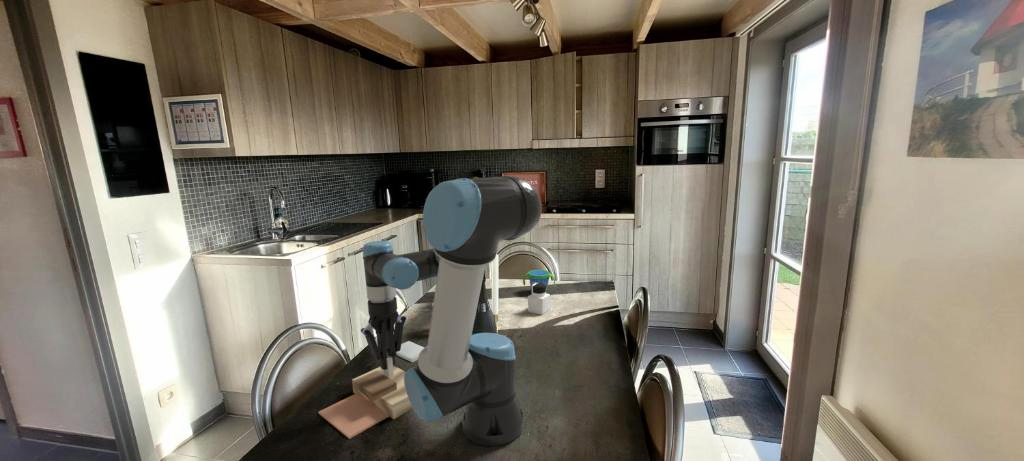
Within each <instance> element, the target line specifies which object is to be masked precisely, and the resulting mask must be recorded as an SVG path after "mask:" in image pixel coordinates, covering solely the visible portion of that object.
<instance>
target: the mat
mask: <svg viewBox="0 0 1024 461" xmlns="http://www.w3.org/2000/svg"><path fill="white" fill-rule="evenodd" d="M317 414H319V416H321V417H322V418H323V419H324V420H326V421H327V422H328V423H329V424H331V425H332V426H333V427H334V428H335V429H336V430H338V431H339V432H340V433H341V434H342V435H344V436H345V437H346V438H347V439H349V440H350V439H352V438H353V437H355V436H357V435H359V434H361V433H363V432H365V431H367V429H369V428H371V427H373V426H374V425H377V424H379V423H380V422H382V421H383V420H385V419H387V418H390V417H389V414H387V413H386V412H384V411H383V410H381V409H380V408H378V407H377V406H375V405H374V404H373V403H371V402H370V401H368V400H367V399H365V398H364V397H362V396H361V395H359V394H358V393H356V394H355V393H354V394H352V395H350V396H348V397H346V398H344V399H342V400H340V401H338V402H336V403H333V404H332V405H330V406H327V407H326V408H323V409H321V410H319V411H318V413H317Z"/></svg>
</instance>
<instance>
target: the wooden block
mask: <svg viewBox="0 0 1024 461" xmlns="http://www.w3.org/2000/svg"><path fill="white" fill-rule="evenodd" d="M354 388H356V389H357V390H358V391H360V392H361V393H363V394H364V395H366V396H367V397H369V398H370V399H371V400H373V401H375V400H377V399H379V398H381V397H383V396H385V395H387V394H389V393H391V392H393V391H395V390H397V383H396V382H395V381H393V380H391V379H390V378H388V377H386V376H385V375H383V374H381V373H380V372H378V371H375V372H373V373H371V374H368V375H366V376H364V377H362V378H360V379H357V380H355V381H354Z"/></svg>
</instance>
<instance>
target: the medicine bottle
mask: <svg viewBox="0 0 1024 461" xmlns="http://www.w3.org/2000/svg"><path fill="white" fill-rule="evenodd" d="M527 305H528V306H527V312H528V313H532V314H537V315H540V316H543V315H544V314H546V313H547V312H549V311H550V310H551V294H550V293H546V285H545V284H543V283H535V284H533V285H532V292H531V294H530V295H528V296H527Z"/></svg>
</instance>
